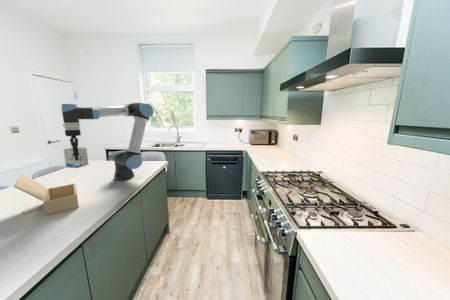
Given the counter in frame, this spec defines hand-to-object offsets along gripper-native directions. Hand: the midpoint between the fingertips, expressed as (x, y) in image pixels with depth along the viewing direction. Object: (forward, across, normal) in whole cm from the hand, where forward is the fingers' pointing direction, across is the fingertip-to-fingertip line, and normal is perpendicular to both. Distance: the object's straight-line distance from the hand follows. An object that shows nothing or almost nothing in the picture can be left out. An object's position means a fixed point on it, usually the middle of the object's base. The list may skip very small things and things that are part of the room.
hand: (77, 163), depth 122 cm
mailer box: (+23, +5, -9) cm, 25 cm away
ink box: (+2, 0, 0) cm, 2 cm away
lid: (+9, +5, -21) cm, 24 cm away
